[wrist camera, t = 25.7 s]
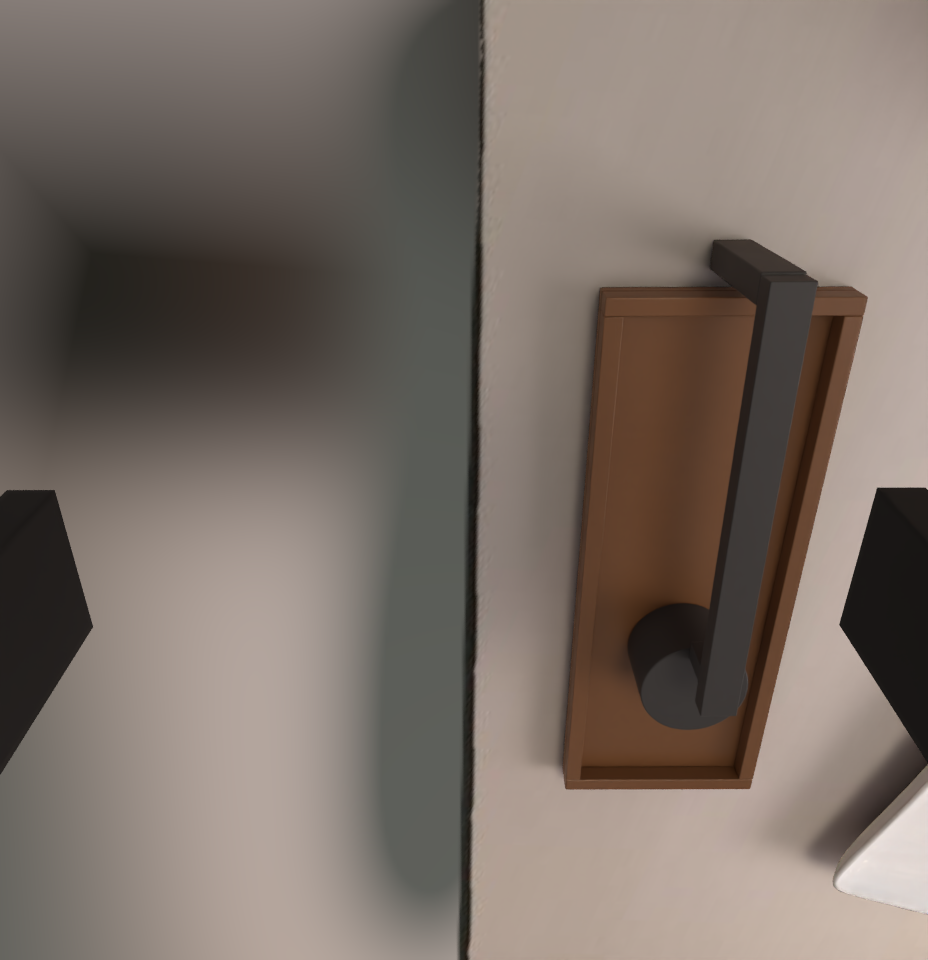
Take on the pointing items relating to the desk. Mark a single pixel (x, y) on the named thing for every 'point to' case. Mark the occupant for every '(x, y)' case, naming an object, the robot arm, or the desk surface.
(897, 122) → the desk surface
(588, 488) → the spoon rest
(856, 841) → the salad plate
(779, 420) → the ladle
